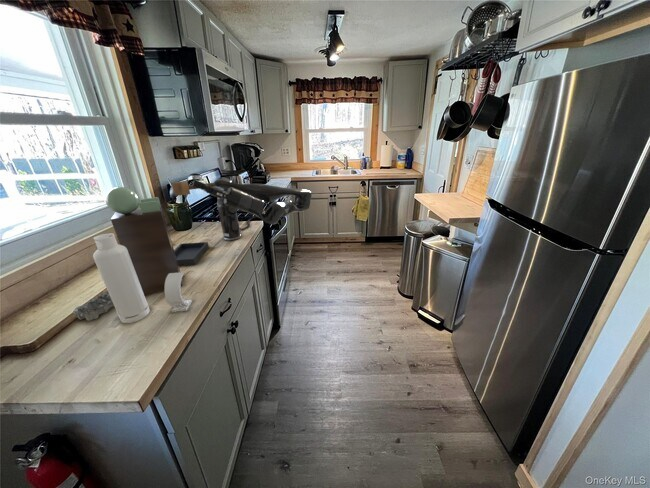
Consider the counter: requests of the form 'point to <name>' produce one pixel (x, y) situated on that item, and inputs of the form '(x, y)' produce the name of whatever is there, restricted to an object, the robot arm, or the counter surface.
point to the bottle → (120, 278)
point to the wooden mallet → (184, 187)
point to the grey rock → (94, 307)
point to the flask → (130, 201)
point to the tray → (190, 253)
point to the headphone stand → (175, 292)
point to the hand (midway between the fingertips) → (193, 182)
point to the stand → (147, 247)
